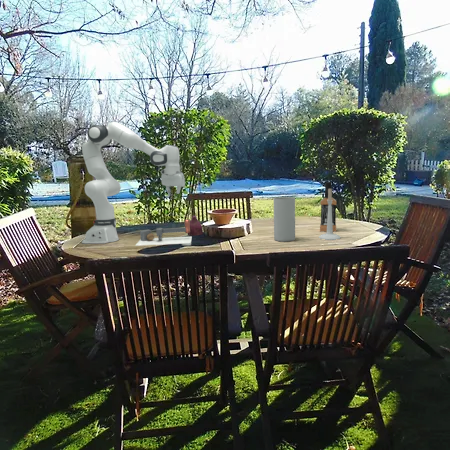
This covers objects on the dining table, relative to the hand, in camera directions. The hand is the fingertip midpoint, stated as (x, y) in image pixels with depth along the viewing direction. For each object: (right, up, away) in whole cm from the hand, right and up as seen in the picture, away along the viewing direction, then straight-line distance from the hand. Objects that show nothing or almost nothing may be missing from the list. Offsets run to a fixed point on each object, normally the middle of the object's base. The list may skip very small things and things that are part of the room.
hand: (173, 193), depth 249 cm
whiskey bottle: (+101, -24, +12) cm, 104 cm away
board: (-4, -31, -10) cm, 33 cm away
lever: (+1, -26, -9) cm, 27 cm away
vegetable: (+13, -27, +16) cm, 33 cm away
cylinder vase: (+68, -29, -13) cm, 75 cm away
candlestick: (+95, -28, -13) cm, 100 cm away
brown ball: (-13, -30, -8) cm, 33 cm away
